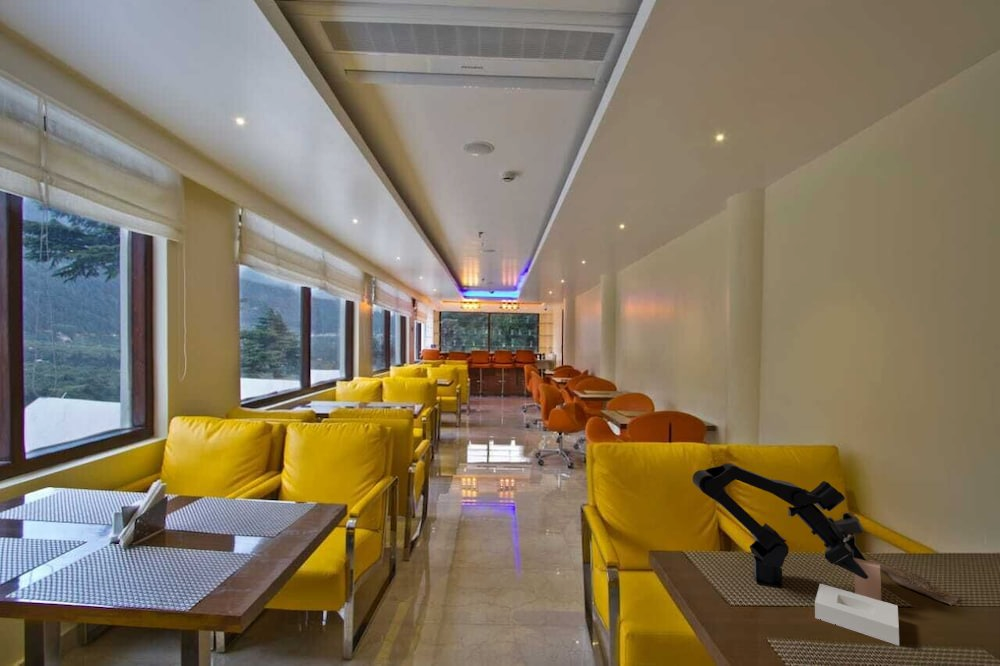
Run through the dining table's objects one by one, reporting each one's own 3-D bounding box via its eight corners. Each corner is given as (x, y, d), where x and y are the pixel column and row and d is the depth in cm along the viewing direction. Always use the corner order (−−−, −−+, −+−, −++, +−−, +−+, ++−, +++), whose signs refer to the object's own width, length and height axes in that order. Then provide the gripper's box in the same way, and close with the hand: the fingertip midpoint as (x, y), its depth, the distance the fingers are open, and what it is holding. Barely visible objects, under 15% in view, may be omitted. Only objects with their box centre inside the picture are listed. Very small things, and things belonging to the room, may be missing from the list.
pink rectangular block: (855, 598, 121) (853, 561, 122) (855, 593, 124) (854, 557, 124) (881, 606, 118) (880, 568, 118) (881, 601, 120) (880, 564, 120)
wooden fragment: (973, 607, 117) (973, 603, 117) (931, 607, 118) (931, 603, 118) (891, 561, 143) (891, 558, 143) (856, 561, 143) (856, 558, 143)
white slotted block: (815, 618, 112) (814, 602, 113) (820, 598, 121) (819, 583, 122) (899, 645, 102) (898, 628, 102) (898, 621, 111) (897, 605, 111)
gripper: (838, 515, 118) (895, 570, 110) (842, 497, 132) (893, 545, 125) (804, 537, 123) (856, 591, 115) (811, 517, 137) (858, 564, 129)
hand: (867, 571), depth 121 cm, fingers open, 9 cm apart
